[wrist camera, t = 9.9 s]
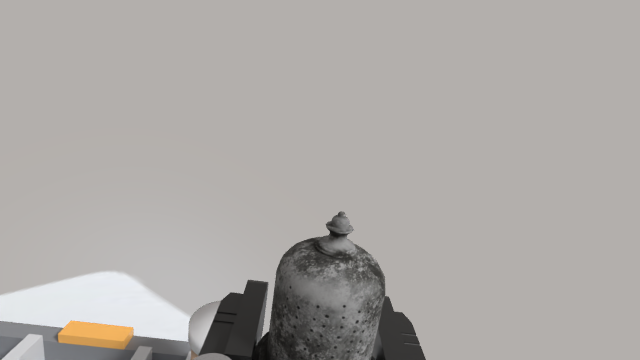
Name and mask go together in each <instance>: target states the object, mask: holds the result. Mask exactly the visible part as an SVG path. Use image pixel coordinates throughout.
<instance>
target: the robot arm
mask: <svg viewBox="0 0 640 360" xmlns="http://www.w3.org/2000/svg"><path fill="white" fill-rule="evenodd" d="M267 291H268V282H263V281H254V280H248V282H247V285H246V288H245V291H244V294H240V293H230V294H228V295H227V296H226V297H225V298H224V299H223V300H221V302H220V305H219V307H218V309H217V313H216V314H215V317H214V319H213V322H212V324H211V326H210V329H209V331H208V334H207V336H206V338H205V341H204V343H203V346H202V348H201V351H200V353H199V355H198V357H196V358H194V359H193V360H253V357H254V352H255V348H256V345H257V343H258V342H259V341H260V340H261V336H262V331H263V325H264V317H265V308H266V300H267ZM372 355H373V357H374V358H375V360H426V359H425V357H424V354H423V351H422V349H421V346H420V343H419V341H418V338H417V336H416V333H415V330H414V328H413V325H412V323H411V322H410V321H409V319H408V318H407V317H406V316H405V315H404V314H403V313H401V312H394V311H393V307H392V304H391V301H390V299H389V297H387V296H385V298H384V303H383V307H382V312H381V316H380V320H379V325H378V329H377V334H376V338H375V343H374V347H373V351H372Z"/></svg>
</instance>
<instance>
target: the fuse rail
mask: <svg viewBox="0 0 640 360" xmlns="http://www.w3.org/2000/svg"><path fill="white" fill-rule="evenodd" d="M0 360H191V347H190V345H189V342H185V341H176V340H167V339H158V338H149V337H140V336H133V327H124V326H115V325H106V324H97V323H88V322H79V321H70V322H69V323H68V324H67V325H66V326H65V327H64V328H58V327H49V326H40V325H31V324H22V323H13V322H4V321H0Z"/></svg>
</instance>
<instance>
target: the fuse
mask: <svg viewBox="0 0 640 360" xmlns="http://www.w3.org/2000/svg"><path fill="white" fill-rule="evenodd" d="M220 302H221V301H216V302H212V303H209V304H206V305H204V306H202V307H201V308H199V309H198V310H197V311H196V312H195V313H194V314H193V315H192V317H191V318H190V321H189V333H188V342H189V345H190V347H191V360H193V359H194V358H196V357H198V355H199V353H200V351H201V348H202V346H203V343H204V341H205V338H206V336H207V334H208V331H209V329H210V326H211V324H212V322H213V319H214V317H215V314H216V313H217V309H218V307H219V305H220Z"/></svg>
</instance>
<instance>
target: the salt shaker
mask: <svg viewBox="0 0 640 360" xmlns="http://www.w3.org/2000/svg"><path fill="white" fill-rule="evenodd" d="M349 224H350V222H349V219H348V218H347V217H346V215H345V213H344V212H339V213H338V215H336V216H334V217H333V219H332V221H330V222H328V223H327V224H326V227H327V229H328V230H329V231H330V234H329V235H328V236H323V237H316V238H311V239H307V240H304V241H302V242H299V243H297V244H295V245H294V246H293V247H291V248H290V249H289V250H288V251H287V252H286V253H285V254H284V255H283V257H282V259H281V261H280V264H279V266H278V268H277V272H276V281H275V288H274V296H273V304H272V312H271V320H270V329H269V332H267V333H266V334H265V335H264V336H263V337H262V338H261V340H260V341H259V342H258V343H257V345H256V348H255V352H254V357H253V360H375V358H374V357H373V355H372V351H373V347H374V343H375V338H376V334H377V329H378V325H379V320H380V316H381V312H382V307H383V303H384V298H385V276H384V274H383V272H382V270H381V268H380V267H379V265H378V263H377V261H376V260H375V259H374V258H373V257H372V256H371V255H370V254H369V253H368V252H366V251H365V250H364V249H362V248H361V247H359V246H357V245H356V244H354V243H353V242H352V241H350V240H349V239H347V235H348V234H349V233H351V232H352V231H353V230H354V229H353V227H352V226H351V225H349Z"/></svg>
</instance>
